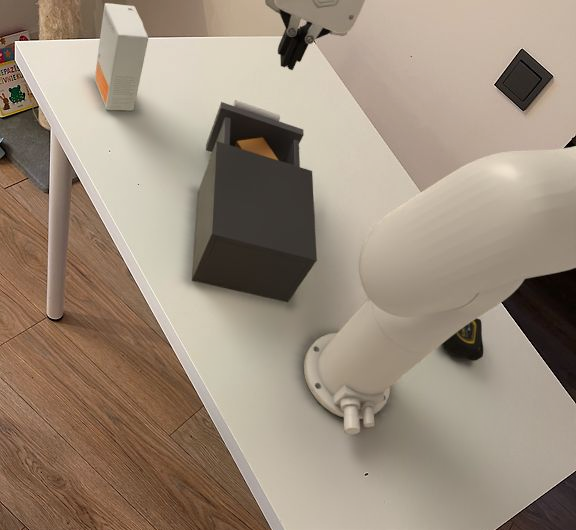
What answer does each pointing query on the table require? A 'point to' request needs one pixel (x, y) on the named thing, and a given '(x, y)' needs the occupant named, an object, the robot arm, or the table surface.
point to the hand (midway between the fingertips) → (286, 61)
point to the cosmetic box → (120, 56)
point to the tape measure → (466, 341)
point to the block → (256, 147)
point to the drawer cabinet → (254, 224)
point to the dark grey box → (255, 130)
